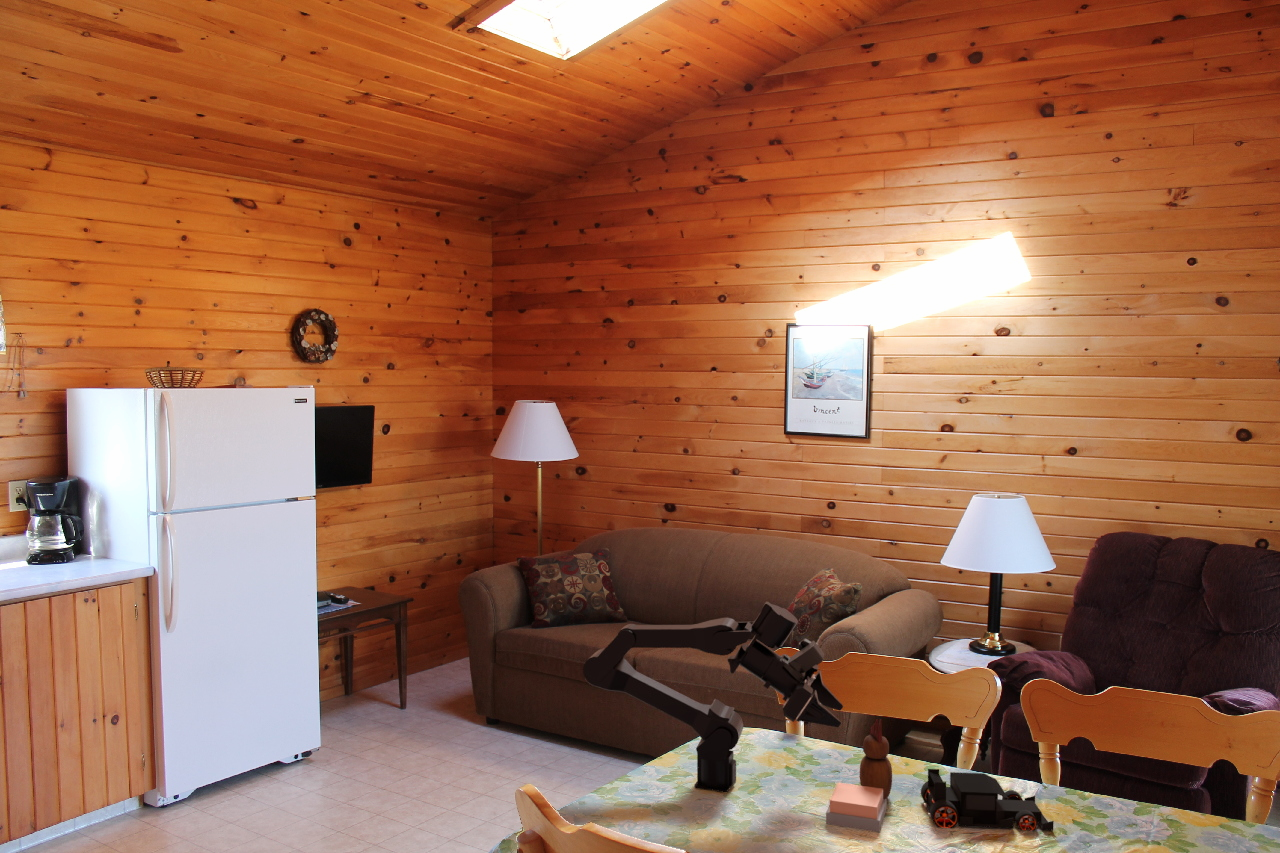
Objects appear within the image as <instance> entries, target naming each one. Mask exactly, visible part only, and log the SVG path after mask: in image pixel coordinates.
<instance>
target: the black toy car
mask: <svg viewBox="0 0 1280 853" xmlns="http://www.w3.org/2000/svg"><path fill="white" fill-rule="evenodd" d="M949 774H950V775H949V776H950V778H949V781H950V782H949V783H950V784H949V786H947V782H946V781H944V780H943V779H942V777H941V775H940V769H939V768H928V769H927V781H926V782H924V783H923V784H922V786H921V789H920V795H921V798H922V800H923V802H924V803H923V805H924V807H925V808H926V809H927V814H928V816H929V818H930V819H931V821H933V824H934V825H935V826H936V828H939V829H954V828H955V827H956V826H957V825H958V826H959V827H968V828H969V827H971V828H972V827H974V828H989V829H990V828H993V829H1014V828H1015V827H1014V823H1016V825H1017V827H1018V828H1019V830H1020V831H1027V829H1028V830H1029V831H1032V832H1033V831H1035V830H1036V829H1037V828H1038V826H1039V827H1040V828H1041V830H1042V831H1054V820H1052V821H1051V820H1050V821H1048V820H1047V818H1046V817H1045V815H1044V814H1043V813H1042V811H1041V809H1040V808H1039V807H1038V805H1037V804H1036V795H1032V796H1029V797H1025V798H1024V800H1023V797H1022V796H1021V794H1020V793H1019V792H1018V791H1016V790H1014V789H1009V790H1006V791H1005V790H1004V789H1003V787H1002V786H1001V785H1000V783H999V782H998V780H997V779H996V778H994V777H993V776H990V775H988V774H986V773H983V772H982V773H981V772H978V773H977V772H976V773H975V772H952V771H950V773H949ZM999 796H1001V798H1000V799H999Z"/></svg>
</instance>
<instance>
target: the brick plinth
mask: <svg viewBox="0 0 1280 853" xmlns="http://www.w3.org/2000/svg"><path fill="white" fill-rule="evenodd" d="M832 791H833V792H832V794H831V796H830V798H829V804H828V807H827V809H826V812H825V824H826V825H830V826H831V825H832V826H838V827H844V828H851V829H856V830H861V831H862V830H863V831H867V832H869V831H870V832H873V833H874V832H875V833H881V828H882V826H883V824H884V823H883V822H884V820H885V816H886V812H887V798H886V799H883V789H880V788H873V787H866V786H861V784H860V785H857V784H853V783H852V784H851V783H845V782H844V783H843V782H840V781H839V782H836V784H835V787H834V789H833V790H832Z"/></svg>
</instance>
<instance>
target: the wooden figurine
mask: <svg viewBox="0 0 1280 853" xmlns="http://www.w3.org/2000/svg"><path fill="white" fill-rule="evenodd" d="M872 724H873V725H871V727H870V733H869V734H868V735H866V737H865V738H864V739H863V744H862V750H863V752H864V756H863V757H862V759H861V760H860V763H859V764H860V765H859V784H860V786H866V787H873V788H880V789H883V799H886V800H887V799H888V797H889V796H890V793H891V790H892V785H893V768H892V767H893V766H892V763H891V762H890V760H889V758H888V755H889V753H890V743H889V740H887V738H886V737H885V736H883V731H882V730H883V728H882V727H883V726H882V719H879V720H878V718H877V719H875V723H874V722H873V723H872Z"/></svg>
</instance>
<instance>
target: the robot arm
mask: <svg viewBox="0 0 1280 853" xmlns="http://www.w3.org/2000/svg"><path fill="white" fill-rule="evenodd" d="M798 623H799V621H798V618H796V616H795V615H794V614H793V613H791V612H790V611H789V610H787V609H786V608H784V607H780V606H779V605H776V604H772V603H770V602H769V601H765V603H764V605H763V606H762V608H761V610H760V613H759V614H758V616H757V617H756V619H755V620H754V621H736V620H735V619H734V618H731V617H720V618H716V619H710V620H706V621H703V622H699V623H695V624H634V623H628V624H626V625H624V626H623V627H622V628H621V629H620V630H619V631H618V633H617V635H616V636H615V637H614V638H613V640H612V641H611V642H610V643H608V645H607V646H606V647H604V648H600V649H598V650H597V651H596V652H594V653H593V654H592V655H591V656H590V657H589V658H588V659H587V660H585V662H584V664H583V669H582V672H583V677H584V680H585V681H586V682H587V683H588V684H589V685H591V686H593V687H596V688H600V689H602V690H605V691H612V692H618V693H619V692H620V693H625V694H627V695H629V696H630V697H633V698H635V699H637V700H639V701H640V702H643V703H644V704H646V705H648V706H650V707H652V708H655V709H656V710H659V711H660V712H662V713H663V714H666V715H668V716H670V717H672V718H674V719H676V720H678V721H680V722H681V723H684V724H685V725H687V726H689V727H690V728H692V729H693V730H694V732H695V733H696V734H697V735H698V736H699V737H700V738H701V739H700V740H699V742H698V744H697V746H696V747H695V750H696V751H695V752H696V754H697V755H696V756H697V757H696V758H697V760H696V762H697V763H696V764H697V765H696V767H697V769H696V771H697V772H696V773H697V774H696V776H697V781H696V782H695V783H694V784H693V785H694V788H695V789H701V790H708V791H714V792H720V793H728V792H729V791H730V789H731V788H732V787H733V786H734V784H736V782H737V760H736V759H734V750H733V749H734V748H735V747H736V746H737V745H738V743H739V741H740V738H741V735H742V733H743V730H744V722H743V720H742V716H741V715H740V714H739V713H738V712H737V711H734V710H735V706H728V705H726V704H724V703H723V702H721V701H720V700H719V699H716V698H714V700H713V701H712V703H711V704H704V703H701V702H698V701H696V700H694V699H692V698H691V697H688V696H686V695H684V694H682V693H680V692H678V691H676V690H674V689H673V688H670V687H669V686H667V685H665V684H662V683H661V682H658V681H657V680H655V679H653V678H652V677H651V678H650V677H649V676H647V675H645V674H642V673H641V672H639V671H637V670H636V669H635V668H634V667H633V666H632V665H631V664H630V663H629V661H628V660H627V659H626V658H624V657H625V656H626V655H627V654H628V653H629V651H630V650H631V649H633V648H634V649H637V648H641V649H642V648H645V649H646V648H648V649H649V648H652V649H653V648H654V649H656V648H657V649H659V648H660V649H667V648H668V649H671V648H672V649H673V648H674V649H685V648H686V649H693V650H694V649H695V650H698V651H701V652H703V653H706V654H710V655H711V654H713V655H718V656H728V655H729V656H728V658H727V662H728V665H729V669H730V670H729V671H730V673H731V675H732V674H733V675H734V674H735V672H736V671H737V669H738V668H739V666H740V667H741V668H743V669H745V670H746V671H747V672H749V673H750V674H751V675H753V676H755V677H756V678H757V679H759V680H761V682H763V685H762V686H763V687H764V688H766V689H769V688H772V689H773V690H775V691H776V692H777V693H779V694H780V695H782V700H783V701H784V703H783V705H782V712H783V716H784V717H785V718H787V719H788V720H790V721H791V722H792V723H794V722H795V720H796V722H804V723H805V722H806V723H812V724H817V725H822V726H828V727H832V728H833V727H834V728H839V727H840V726H841V724H842V721H841V720H840V719H839V718H838V717H837V716H835V714H833V712H831V711H830V710H829V709H828V708H830V709H833V710H837V711H842V710H843V708H844V705H843V704H842V702H841V701H840V700H839V699H838V697H836V695H835V694H833V692H832V691H831V690H830V689H829V688H828V686H826V685H825V683H824V682H823V677H822V670H821V669H819V667H820V666H819V664H821V663H822V662H823V661H824V660H825V658H824V657H825V656H826V655H825V653H824V651H823V650H822V649H821V648H820V644H819V643H818V642H816V641H815V640H812V641H811V640H809V639H807V638H803V639H802V640H801V641H800V642H799V643H798V649H799V650H798V651H796V652H795V654H793V655H792V656H789V655H788V654H786V653H782V654H781V655H779V653H777V652H775V651H774V650H772V649H775V648H776V647H778V648H781V647H783V645H784V643H785V642H786V641H787V639H788V638H789V636H790V635H791V633H792V632H793V630H794V629H795V627H796V626H797V624H798ZM752 635H754V636H753V638H752V639H751V641H750V642H749V643H748V641H749V639H750V638H751V636H752ZM738 646H740V647H739V649H738V650H737V651H736V653H735V654H734V655H731V654H732V653H733V652H734V651H735V650H736V648H737V647H738ZM815 673H816V674H815Z"/></svg>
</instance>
